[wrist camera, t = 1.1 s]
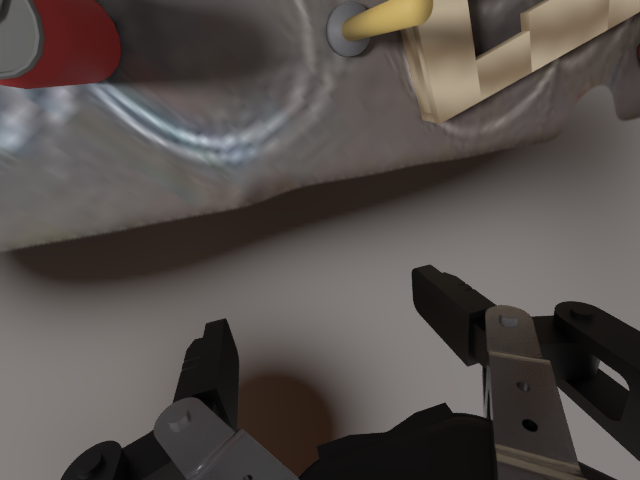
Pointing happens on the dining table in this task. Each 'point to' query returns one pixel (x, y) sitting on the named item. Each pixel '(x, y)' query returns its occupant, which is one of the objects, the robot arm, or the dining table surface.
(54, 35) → the beer can
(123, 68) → the dining table surface
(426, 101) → the keyhole board
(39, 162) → the dining table surface
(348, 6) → the headed peg
